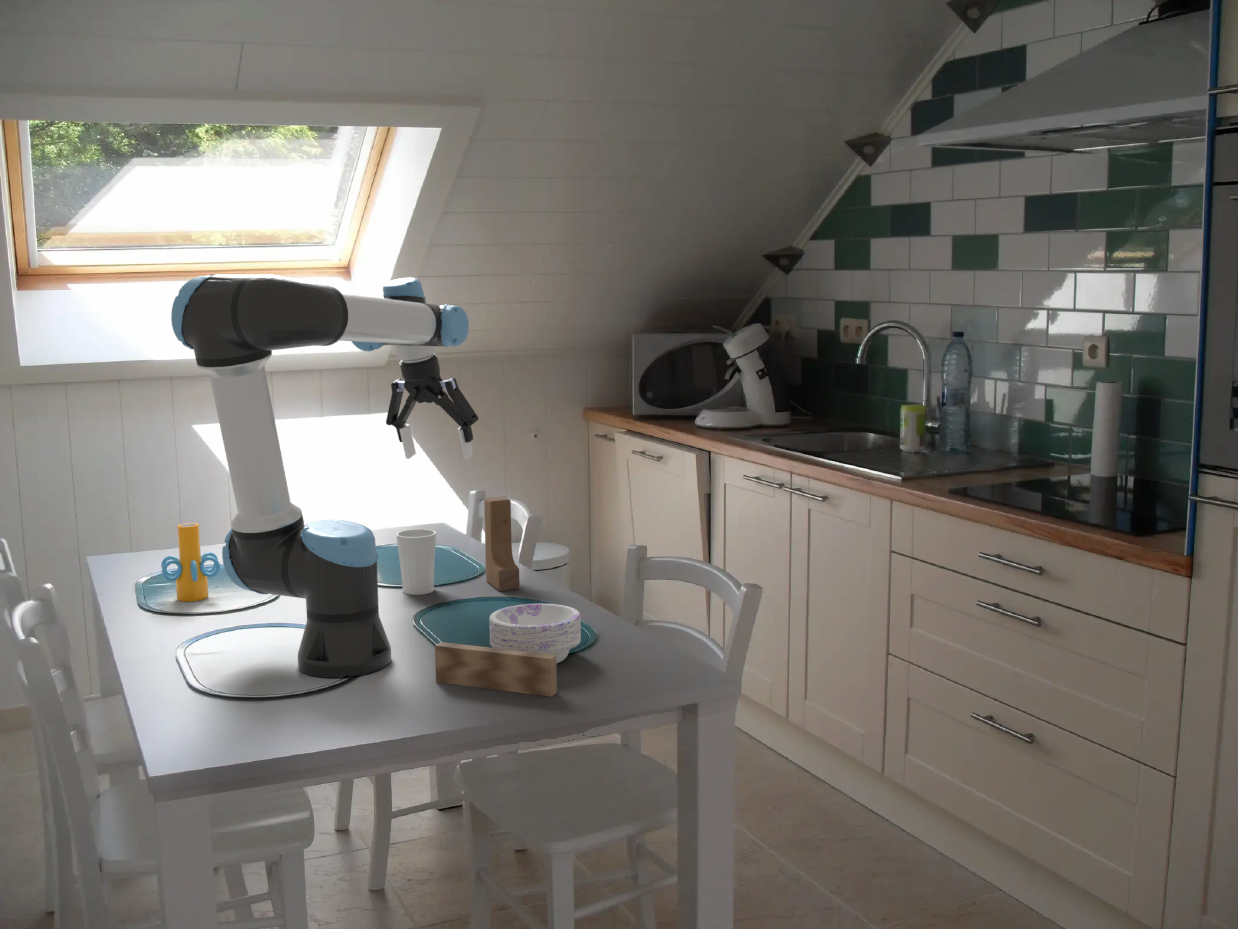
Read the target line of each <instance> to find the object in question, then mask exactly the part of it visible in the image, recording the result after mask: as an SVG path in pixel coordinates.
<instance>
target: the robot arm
mask: <svg viewBox="0 0 1238 929" xmlns="http://www.w3.org/2000/svg"><path fill="white" fill-rule="evenodd" d="M382 291H383V295H382V296H383V298H380V297H374V296H373V297H372V296H363V295H358V294H357V295H356V294H348V293H346V294H345V293H342V292H341V291H340V290H339V289H338V288H336V287H334V286H332V285H328V284H327V285H326V284H319V283H316V282H315V283H314V282H311V281H310V282H309V281H306V280H301V279H296V278H291V277H287V276H281V275H275V274H221V273H216V274H209V275H199V276H195V277H193V278H191V279H189V280H188V281H186V282H185V283H184V284H183V285H182V286H181V288H179V290H178V294H177V296H175V297H174V300H173V303H172V307H171V312H170V313H171V315H170V316H171V317H170V318H171V319H170V320H171V327H172V331H173V334H174V336H175V337H176V339H177V340H178V342H180V343H181V344H182V345H183V346H184V347H186V348H188V349H189V350H193V352H194V357H195V362H196V365H197V367H198V369H201V370H202V371H204V372H205V373H207V374H208V375H209V381H210V384H211V389H212V395H213V397H214V404H215V409H216V414H217V418H218V423H219V427H220V432H221V438H222V441H223V442H222V443H223V446H224V448H223V449H224V451H225V452H224V453H225V457H226V461H227V466H228V472H229V476H230V481H231V485H232V490H233V495H234V501H235V504H236V505H235V506H236V509H237V510H236V511H237V514H236V515H235V516H234V517H233V519H232V520H231V522H230V528H231V529H230V530H229V531H228V532H227V534H226V536H225V538H224V543H225V545H223V546H222V551H221V554H222V555H221V558H222V563H223V568H224V570H225V573H226V574H227V576H228V577H229V579H230V580H231V582H233V583H234V584H235V585H236V586H237V587H239V588H241V589H243V590H246V591H250V592H255V593H256V594H260V595H276V596H284V597H291V598H297V599H305V610H306V622H305V623H306V624H305V627H304V630H303V633H302V637H301V641H300V645H299V649H298V652H297V665H298V666H297V667H298V669H299V671H301V672H302V673H303V674H307V675H310V676H313V677H319V678H344V677H343V676H350V677H357V676H363V675H367V674H370V673H374V672H377V671H380V670H382V669H384V668H386V667H387V666H388V665H390V664H391V662H392V647H391V643H390V641H389V638H388V636H387V633H386V631H385V628H384V626H383V622H382V620H381V617H380V611H379V609H380V608H379V590H378V589H379V585H378V582H379V580H378V557H379V554H378V550H377V546H376V545H377V544H376V536H375V535H374V532H373V531H372V530H371V529H370V528H369V527H368V526H366V525H363V524H361V523H358V522H354V521H351V520H350V521H349V520H343V519H338V520H334V519H319V520H315V521H310V522H308V523H306V524H305V521H304V516H303V511H302V509H301V508H300V507H299V506H297V505H295V504H293V503H292V502H291V499H290V498H291V497H290V493H289V488H288V482H287V478H286V472H285V467H284V462H283V461H284V460H283V456H282V451H281V450H282V449H281V445H280V440H279V436H278V434H279V433H278V429H277V424H276V420H275V415H274V410H273V409H274V408H273V404H272V403H273V402H272V399H271V394H270V393H271V392H270V388H269V382H268V377H267V371H266V367H265V366H266V364H267V362H268V361H269V360H270V358H271V357H272V356H273V352H272V351H274V350H275V351H277V350H279V351H280V350H286V349H287V350H289V349H297V348H303V347H311V346H313V347H314V346H316V347H317V346H318V347H328V346H332V345H334V344H336V343H338V342H339V341H342V342H351V343H352V344H353V346H355V347H356V348H357V349H359V350H360V351H363V352H372V351H375V350H379V349H381V348H382V347H383V346H394V347H395V350H396V354H397V355H396V356H397V358H398V360H400V361H399V368H400V372H401V376H402V379H401V378H397V379H395V380H394V381H392V382H391V384H390V386H391V397H390V400H389V401H390V402H389V404H388V405H389V406H388V410H387V415H386V419H385V424H386V425H387V426H392V427H394V428H395V429H396V433H397V438H398V441H399V442H400V443H402V446H403V451H404V456H405V459H406V460H407V459H409V460H410V459H411V458H413V456H414V455H417V452H416V448H415V443H414V438H413V433H412V429H411V425H410V423H407V420H408V418H409V417H410V415H411V414H412V411H413V410H414V407H415V406H416V404H417V403H418V404H422V403H427V404H432V403H434V404H435V405H437V406H439V407H440V408H441V409H442V410H443V412H445V413H446V414H447V415H448V416H449V417H451V419H452V420H453V421H454V422H455V423H456V424H457V425H459V427H458V428H457V433H458V434H457V435H458V437H459V443H460V447H461V453H462V456H463V457H462V458H463V460H468V459H470V458H471V456H473V455H474V451H473V447H472V441H473V440H474V435H473V429H472V425H474V424H475V423H476V422H478V420H479V416H478V415H477V413H476V412H475V410H474V409H473V407H472V406H471V404H470V402H469V401H468V400H467V398H466V397H465V395H464V394H463V393H462V391H461V389H460V388H459V386H458V382H457V379H456V378H455V377H451V378H449V379H445V380H443V379H442V377H441V368H440V363H439V358H438V355H437V354H436V351H437V349H436V347H443V348H448V347H459V346H461V345H463V343H465V341H466V340H467V337H468V336H469V330H470V329H469V325H470V324H469V317H468V313H466V311H465V309H464V308H463V307H461V306H459V305H457V304H456V305H454V304H447V303H445V304H433V303H432V304H431V303H427V301H426V299H427V298H426V296H425V293H424V289H423V285H422V282H421V281H420V280H419V279H418V278H416V277H402V278H395V279H392V280H389V281H387V282H386V283H384V285H383V287H382ZM404 390H406V392H407V393H408V396H407V398H406V400H405V403H404V405H403V407H402V409H401V404H402V400H403V395H404ZM400 409H401V411H400Z"/></svg>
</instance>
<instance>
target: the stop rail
mask: <svg viewBox="0 0 1238 929" xmlns="http://www.w3.org/2000/svg"><path fill="white" fill-rule="evenodd" d="M434 656H435V657H434V661H435V662H434V663H435V682H436V683H440V684H448V685H455V684H457V686H463V687H472V688H480V689H487V690H493V691H494V690H496V691H503V692H511V693H518V694H519V693H520V694H526V695H534V696H543V697H551V698H552V697H554V695H556V694H557V692H558V683H557V682H558V679H557V677H558V676H557V674H558V671H557V665H558V663H557V664H556V655H551V654H542V653H533V652H524V651H516V650H507V649H498V648H493V647H487V646H479V645H470V644H464V643H463V644H462V643H461V644H460V643H453V642H444V641H440V642H438V643H436V644H435V645H434Z"/></svg>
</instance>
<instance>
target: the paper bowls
mask: <svg viewBox="0 0 1238 929" xmlns="http://www.w3.org/2000/svg"><path fill="white" fill-rule="evenodd" d="M488 620H489V624H488V625H489V626H488V627H489V644H490V646H491V648H498V649H507V650H516V651H524V652H533V653H542V654H551V655H556V664H557V665H558V663H561V662H563V661H564V660H565V659H566V658H567V657H568V655H569V653H570V650H571V649H573V648H575V647H577V646H578V645H579V644H580V643H581V641H582V640H581V639H582V637H581V633H582V631H581V630H582V628H581V623H582V622H581V620H582V618H581V613H580V611H579V610H577V608H574V607H571V606H568V605H563V604H557V603H556V604H555V603H527V604H517V605H511V606H506V607H503V608H502V607H501V608H499V609H497V610H495V611H494V612H492V613H491V614H490V615H489V618H488Z"/></svg>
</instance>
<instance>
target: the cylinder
mask: <svg viewBox="0 0 1238 929" xmlns="http://www.w3.org/2000/svg"><path fill="white" fill-rule="evenodd" d="M176 527H177V538H178V539H177V541H178V555H179V556H178V557H177V556H174V555H168V556H166V557H164V558H163V559H162V560H161V563H160V564H161V565H160V566H161V568H160V569H161V574H162V577H163V578H164V579H165V580H166V581H168V582H174V581H175V588H176V589H175V590H176V600H177V601H179V602H184V603H192V602H199V601H202V600H205V599H208V597H209V581H208V578H215V577H216V576H218V575H219V573H220V572H221V564H220V561H219V558H218V556H217V555H216V554H215V553H214V552H212V551H211V552H205V553H203V554H201V541H200V540H201V539H200V525H199V523H197V522H187V523H186V522H185V523H181V524H178V525H176ZM207 561H211V562H213V565H212V567H210V568H207V569H206V568H205V563H206V562H207ZM172 564H174V565H176V566H177V570H175V571H174V572H171V571H169V570H168V569H167V568H168V567H169V566H170V565H172Z"/></svg>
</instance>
